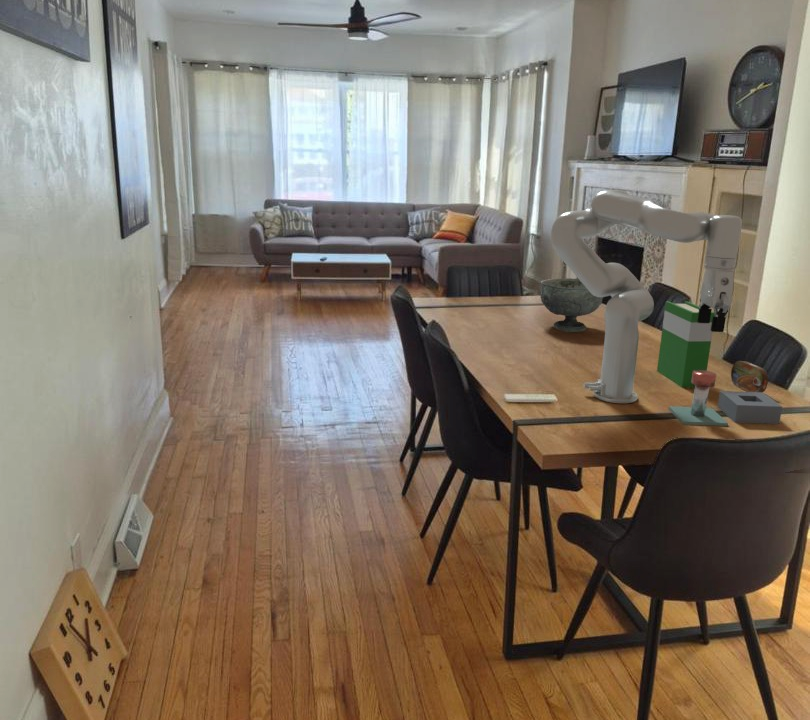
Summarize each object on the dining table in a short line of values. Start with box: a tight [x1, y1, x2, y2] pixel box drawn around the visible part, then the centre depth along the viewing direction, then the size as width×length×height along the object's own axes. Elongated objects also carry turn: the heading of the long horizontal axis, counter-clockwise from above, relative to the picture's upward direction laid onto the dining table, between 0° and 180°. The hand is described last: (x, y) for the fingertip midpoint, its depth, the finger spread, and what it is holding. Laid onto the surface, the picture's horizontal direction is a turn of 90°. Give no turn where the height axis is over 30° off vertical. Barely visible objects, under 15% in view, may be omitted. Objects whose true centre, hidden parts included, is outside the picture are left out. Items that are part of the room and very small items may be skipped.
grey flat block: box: [717, 390, 783, 425], centre depth 197 cm, size 12×12×5 cm
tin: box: [730, 360, 769, 393], centre depth 219 cm, size 15×3×8 cm, turn 9°
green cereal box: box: [656, 300, 714, 389], centre depth 226 cm, size 18×7×24 cm, turn 6°
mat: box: [668, 405, 729, 427], centre depth 195 cm, size 12×12×1 cm
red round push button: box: [691, 370, 717, 417], centre depth 193 cm, size 6×6×12 cm
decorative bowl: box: [539, 277, 604, 333], centre depth 292 cm, size 26×26×20 cm
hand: (709, 327), depth 188 cm, fingers open, 9 cm apart
